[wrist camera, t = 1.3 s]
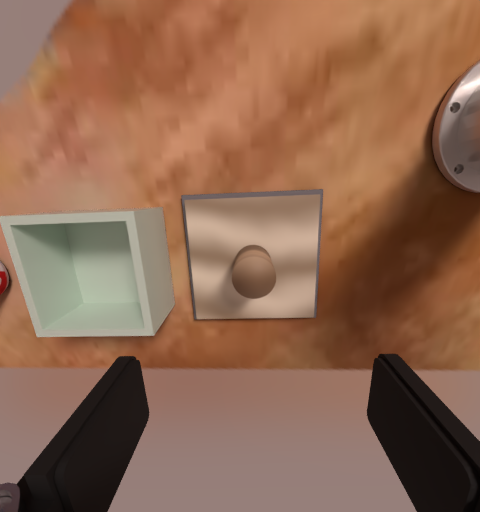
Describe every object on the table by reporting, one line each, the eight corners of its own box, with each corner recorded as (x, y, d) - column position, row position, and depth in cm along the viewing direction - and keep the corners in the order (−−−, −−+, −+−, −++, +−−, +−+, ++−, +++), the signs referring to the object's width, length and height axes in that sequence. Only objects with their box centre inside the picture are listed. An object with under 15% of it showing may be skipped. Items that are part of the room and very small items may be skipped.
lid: (186, 199, 24) (167, 201, 19) (318, 194, 23) (339, 194, 18) (198, 315, 28) (185, 346, 22) (312, 313, 27) (328, 344, 22)
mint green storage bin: (59, 211, 26) (-2, 216, 19) (162, 206, 25) (133, 210, 19) (83, 306, 29) (37, 336, 22) (175, 304, 28) (153, 335, 22)
